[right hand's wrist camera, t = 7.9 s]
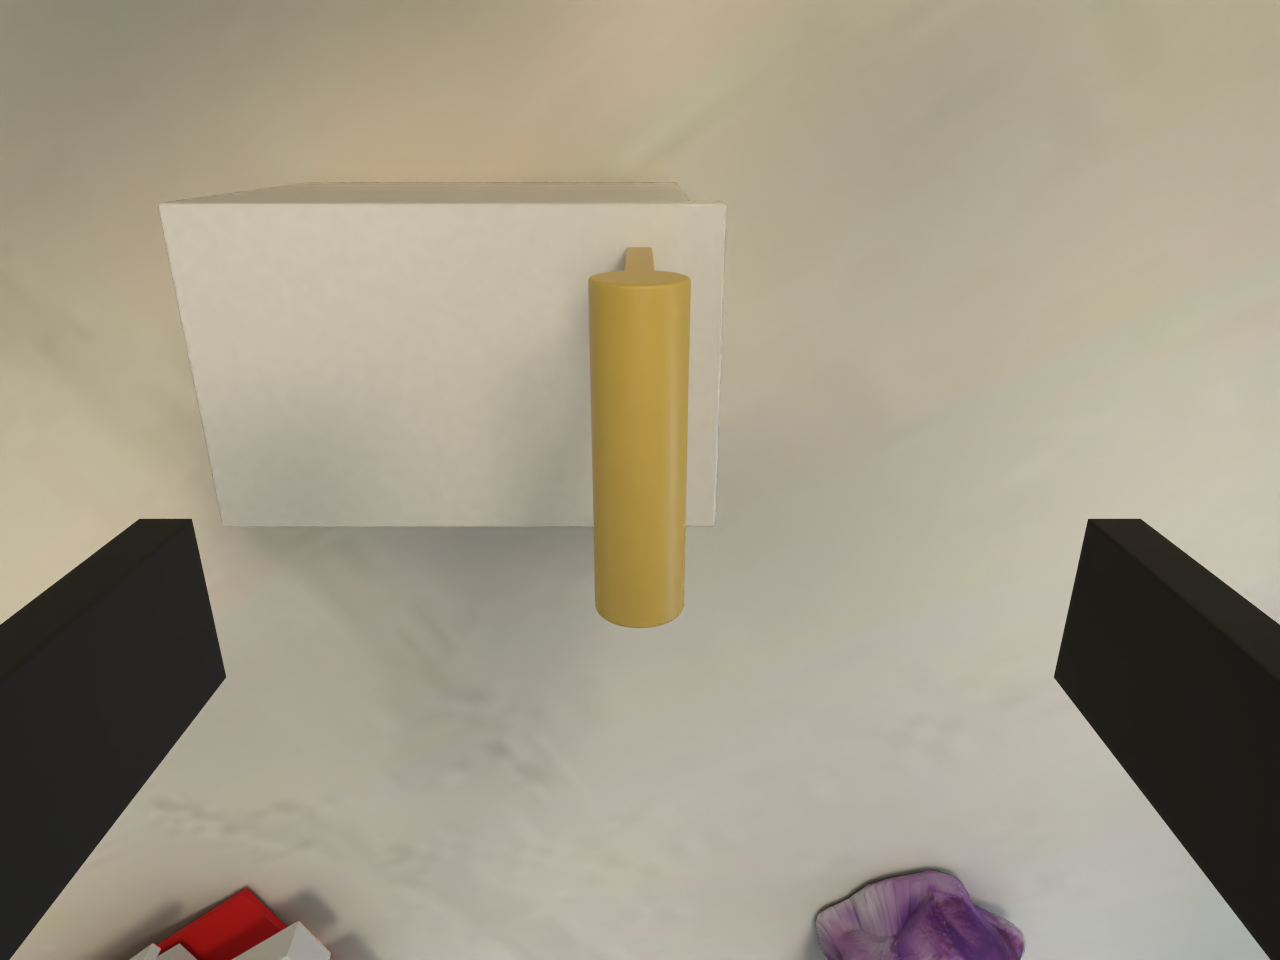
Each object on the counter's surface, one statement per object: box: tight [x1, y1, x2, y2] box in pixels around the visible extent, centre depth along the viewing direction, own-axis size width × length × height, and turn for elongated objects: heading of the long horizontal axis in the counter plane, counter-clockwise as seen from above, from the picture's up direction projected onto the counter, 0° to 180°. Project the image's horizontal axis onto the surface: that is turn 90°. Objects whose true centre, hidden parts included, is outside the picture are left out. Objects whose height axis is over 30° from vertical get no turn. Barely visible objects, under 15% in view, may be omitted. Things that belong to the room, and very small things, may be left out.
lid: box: [158, 201, 727, 628], centre depth 21 cm, size 15×10×8 cm, turn 90°
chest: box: [177, 183, 691, 201], centre depth 30 cm, size 14×10×10 cm, turn 90°
